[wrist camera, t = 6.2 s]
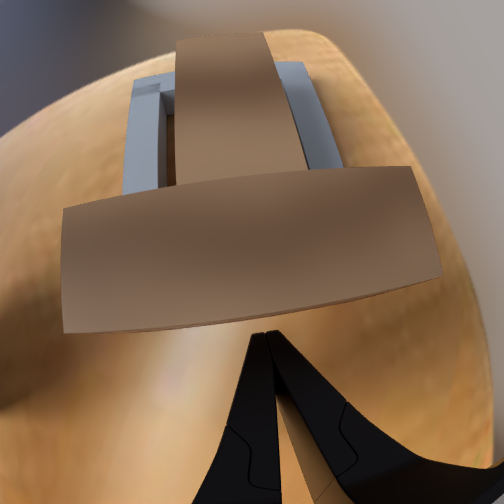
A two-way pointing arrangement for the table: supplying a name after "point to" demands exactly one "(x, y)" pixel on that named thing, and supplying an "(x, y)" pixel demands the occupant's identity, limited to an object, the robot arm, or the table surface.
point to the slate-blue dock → (163, 103)
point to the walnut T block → (240, 215)
